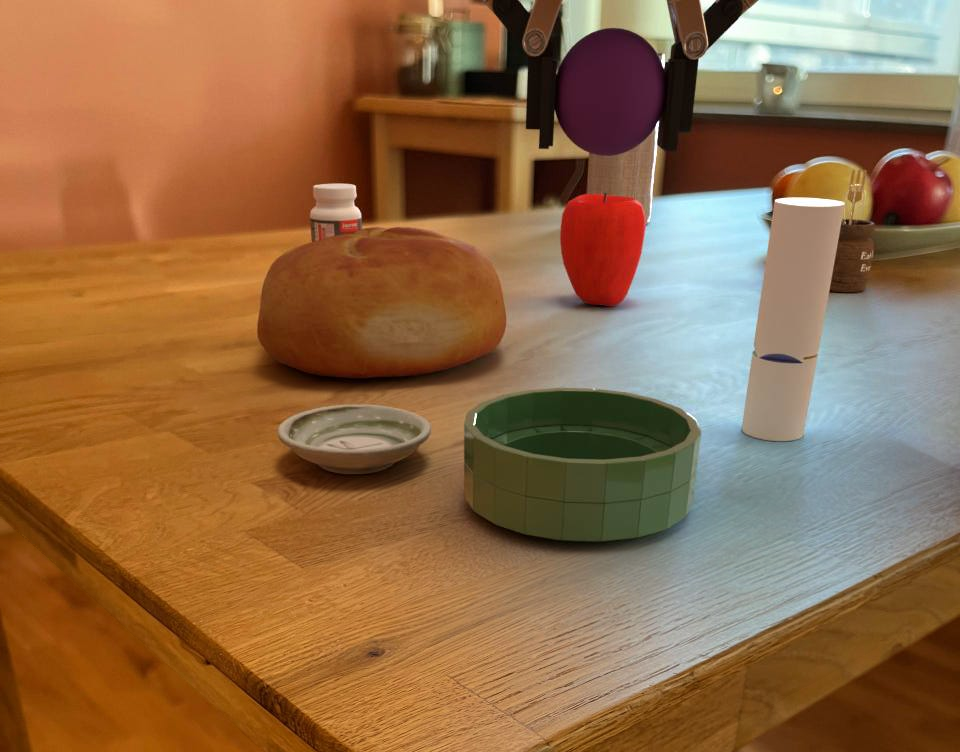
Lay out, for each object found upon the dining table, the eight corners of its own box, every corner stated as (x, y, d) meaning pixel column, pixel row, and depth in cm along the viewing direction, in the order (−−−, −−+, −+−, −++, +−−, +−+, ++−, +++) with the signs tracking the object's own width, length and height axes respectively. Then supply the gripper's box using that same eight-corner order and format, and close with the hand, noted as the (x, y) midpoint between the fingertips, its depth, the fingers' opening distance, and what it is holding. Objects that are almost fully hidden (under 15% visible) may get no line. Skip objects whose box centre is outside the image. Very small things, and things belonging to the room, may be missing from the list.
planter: (616, 216, 163) (628, 52, 152) (663, 223, 157) (679, 53, 145) (571, 221, 158) (580, 52, 146) (619, 229, 151) (632, 53, 140)
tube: (779, 418, 74) (816, 196, 67) (816, 437, 71) (859, 205, 63) (729, 425, 73) (761, 198, 65) (764, 444, 69) (802, 207, 62)
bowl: (675, 467, 65) (684, 390, 63) (704, 555, 54) (716, 466, 52) (471, 461, 66) (471, 385, 63) (457, 547, 55) (457, 459, 52)
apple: (540, 298, 109) (545, 188, 103) (608, 291, 112) (616, 185, 107) (585, 315, 102) (592, 199, 97) (656, 307, 106) (667, 195, 100)
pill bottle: (351, 286, 113) (346, 190, 108) (305, 283, 115) (298, 187, 110) (372, 277, 118) (368, 184, 113) (327, 274, 119) (322, 181, 114)
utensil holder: (811, 291, 114) (831, 174, 108) (812, 280, 119) (831, 168, 113) (866, 295, 112) (890, 176, 106) (865, 284, 118) (887, 170, 112)
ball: (655, 152, 54) (666, 30, 51) (665, 162, 49) (679, 27, 47) (550, 149, 54) (556, 27, 52) (550, 159, 50) (557, 25, 47)
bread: (198, 347, 90) (183, 226, 85) (410, 311, 103) (408, 204, 98) (340, 409, 75) (332, 267, 70) (568, 357, 88) (574, 235, 83)
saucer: (462, 460, 66) (462, 424, 65) (350, 502, 60) (348, 463, 59) (361, 427, 72) (359, 393, 70) (249, 462, 65) (245, 425, 64)
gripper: (427, -362, 40) (430, 150, 49) (871, -360, 39) (791, 159, 48) (443, -304, 46) (444, 139, 55) (825, -302, 46) (762, 146, 55)
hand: (606, 144), depth 52 cm, fingers closed on ball, 5 cm apart
